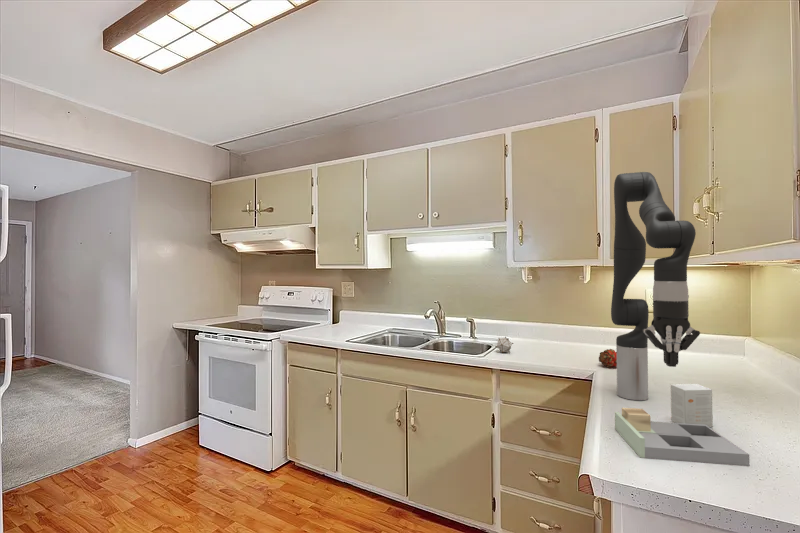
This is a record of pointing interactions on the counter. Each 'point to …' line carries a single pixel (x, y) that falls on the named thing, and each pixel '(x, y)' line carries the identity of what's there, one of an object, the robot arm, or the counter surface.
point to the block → (637, 418)
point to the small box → (691, 404)
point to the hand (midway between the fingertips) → (670, 365)
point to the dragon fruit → (608, 358)
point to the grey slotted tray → (681, 443)
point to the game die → (504, 345)
